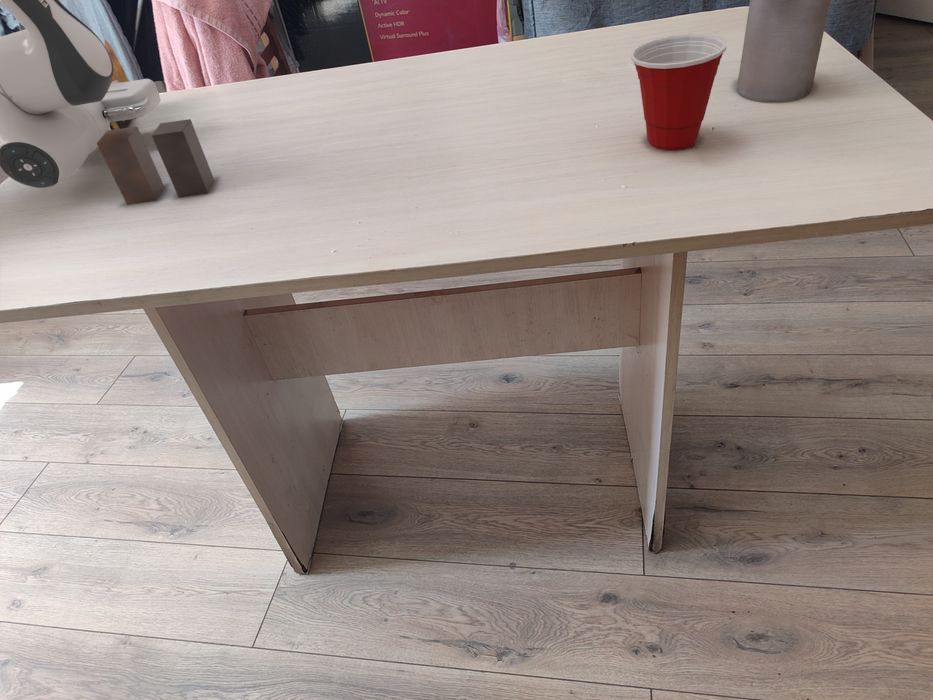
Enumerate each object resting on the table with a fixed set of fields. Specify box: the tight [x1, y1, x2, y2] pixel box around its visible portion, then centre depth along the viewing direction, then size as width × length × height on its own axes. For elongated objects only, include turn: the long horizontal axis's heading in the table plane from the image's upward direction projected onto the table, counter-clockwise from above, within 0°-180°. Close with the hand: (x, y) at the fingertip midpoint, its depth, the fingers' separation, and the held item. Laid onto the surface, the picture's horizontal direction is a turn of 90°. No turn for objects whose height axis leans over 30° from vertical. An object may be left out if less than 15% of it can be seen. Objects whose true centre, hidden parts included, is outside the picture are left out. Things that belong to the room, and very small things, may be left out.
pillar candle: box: [736, 0, 832, 103], centre depth 90 cm, size 10×10×15 cm
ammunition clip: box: [103, 39, 133, 130], centre depth 111 cm, size 11×2×12 cm, turn 4°
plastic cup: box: [629, 33, 728, 152], centre depth 82 cm, size 11×11×12 cm
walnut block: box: [97, 126, 165, 206], centre depth 89 cm, size 4×4×9 cm
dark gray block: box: [151, 118, 215, 199], centre depth 88 cm, size 4×4×9 cm
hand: (106, 86), depth 109 cm, fingers closed on ammunition clip, 2 cm apart
